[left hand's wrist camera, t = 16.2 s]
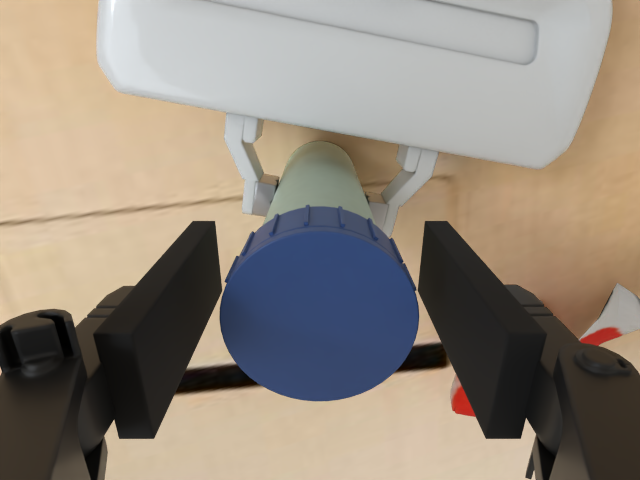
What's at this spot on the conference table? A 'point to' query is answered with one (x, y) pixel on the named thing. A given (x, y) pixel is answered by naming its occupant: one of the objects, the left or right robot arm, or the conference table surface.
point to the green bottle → (319, 182)
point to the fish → (614, 321)
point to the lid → (319, 305)
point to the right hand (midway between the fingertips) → (317, 222)
